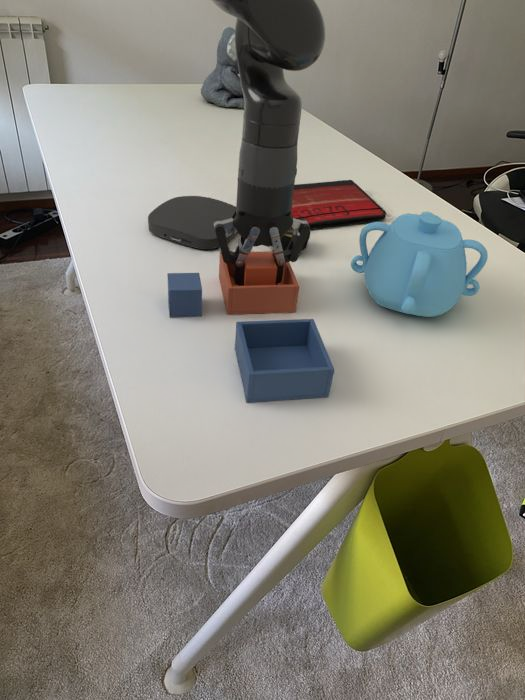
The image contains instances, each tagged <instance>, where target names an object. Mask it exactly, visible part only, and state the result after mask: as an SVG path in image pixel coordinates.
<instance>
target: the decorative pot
mask: <svg viewBox="0 0 525 700" xmlns="http://www.w3.org/2000/svg"><path fill="white" fill-rule="evenodd" d="M372 231H373V232H374V231H380V232H382V233H381V235H379V238H378V239H377V240H376V242H375V243H374V245H373V246H372V248H371V250H370V252H368V245H367V236H368V234H369V233H370V232H372ZM358 238H359V239H358V241H359V248H360V254H359V255H358V254H357V255H355V256H354V257H353V258H352V259H351V261H350V268H351V269H352V270H353V271H354V272H355V273H358V274H363V278H364V283H365V285H366V288H367V292H368V293H369V295H370V296H371V298H372V300H373V301H374V302H375V303H377V305H378V306H380V307H382V308H386V309H389V310H392V311H396V312H399V313H403V314H407V315H412V316H417V317H418V316H419V317H427V318H434V317H439V316H441V315H443V314H445V313H447V312H449V311H450V310H452V308H453V307H455V306H456V305H457V303H458V302H459V301H460V299H461V297H462V295H463V296H465V297H473V296H475V295H477V293H478V292H479V291H480V282H479V281H478V280H476V279H475V278H476V277H477V276H478V275H479V273H481V271H482V270H483V268H484V267H485V266H486V264H487V261H488V257H489V254H488V250H487V248H486V247H485V245H483V243H481V242H480V241H478V240H476V239H464V238H463V235H462V232H461V231H460V229H459V227H458V226H457V225H456V224H454V223H453V222H451V221H449V220H446V219H443V218H441V217H440V216H439V215H436V214H434V213H432V212H431V211H422V212H421V213H420V214H418V213H417V214H416V213H403V214H400V215H398V216H397V217H396V218H395V219H393V221H392V222H391V223H390V224H388V223H385V222H383V221H373V222H369V223H368V224H365V226H363V228H362V229H361V231H360V233H359V237H358ZM466 249H472V250H475V251H477V253H479V255H480V257H479V259H478V261H477V262H476V263H475V265H474V266H473V267H472V268H471V270H469V272H468V273H467V256H466ZM358 261H359V262H360V261H361V262H362V264H358V263H357V262H358ZM469 285H470V286H473V287H471V288H469V287H468V286H469Z"/></svg>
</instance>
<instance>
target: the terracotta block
mask: <svg viewBox="0 0 525 700" xmlns="http://www.w3.org/2000/svg"><path fill="white" fill-rule="evenodd" d="M244 266H245V274H244V286H255V285H275V284H276V275H277V266H276V263H275V261H274V258H273V255H272V253H271V252H268V253H250V254H249V255H248V256H247V258H246V260H245V263H244Z"/></svg>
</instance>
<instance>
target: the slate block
mask: <svg viewBox="0 0 525 700" xmlns="http://www.w3.org/2000/svg"><path fill="white" fill-rule="evenodd" d="M166 278H167V301H168V313H169V314H168V315H169V318H187V317H188V318H189V317H191V318H192V317H202V316H203V287H202V286H203V285H202V281H201V274H200V272H169V273H168V272H167V277H166Z"/></svg>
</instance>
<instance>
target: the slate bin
mask: <svg viewBox="0 0 525 700" xmlns="http://www.w3.org/2000/svg"><path fill="white" fill-rule="evenodd" d="M235 323H236V324H235V339H234V351H235V355H236V356H235V358H236V361H237V365H238V371H239V375H240V380H241V383H242V388H243V394H244V397H245V401H246V403H261V402H275V401H291V400H292V401H293V400H306V399H307V400H308V399H320V398H323V399H324V398H329V397H330V393H331V388H332V384H333V378H334V374H335V370H336V369H335V367H334V365H333V362H332V360H331V358H330V356H329V353H328V351H327V349H326V347H325V346H326V345H325V344H324V341H323V339H322V337H321V334H320V332H319V330H318V327H317V325H316V321H315V320H314V318H299V319H298V318H297V319H296V318H295V319H271V320H248V321H247V320H245V321H236V322H235Z"/></svg>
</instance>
